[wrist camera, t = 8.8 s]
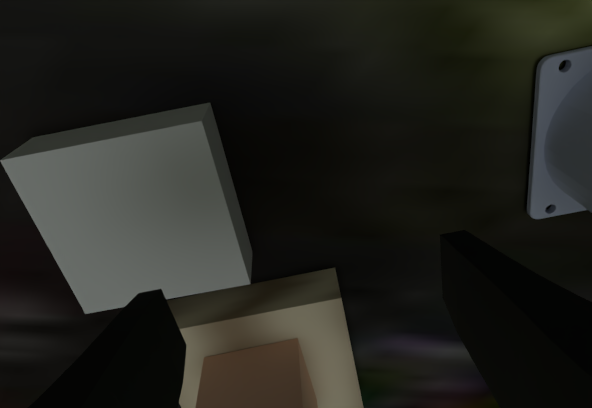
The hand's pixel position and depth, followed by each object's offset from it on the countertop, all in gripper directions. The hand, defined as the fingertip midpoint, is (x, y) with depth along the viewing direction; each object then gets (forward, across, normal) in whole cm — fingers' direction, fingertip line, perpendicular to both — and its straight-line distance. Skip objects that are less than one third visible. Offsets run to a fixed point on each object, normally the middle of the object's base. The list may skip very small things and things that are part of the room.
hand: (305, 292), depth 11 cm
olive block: (+10, +4, +12) cm, 17 cm away
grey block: (+10, +7, +1) cm, 12 cm away
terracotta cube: (+8, +4, +12) cm, 14 cm away
